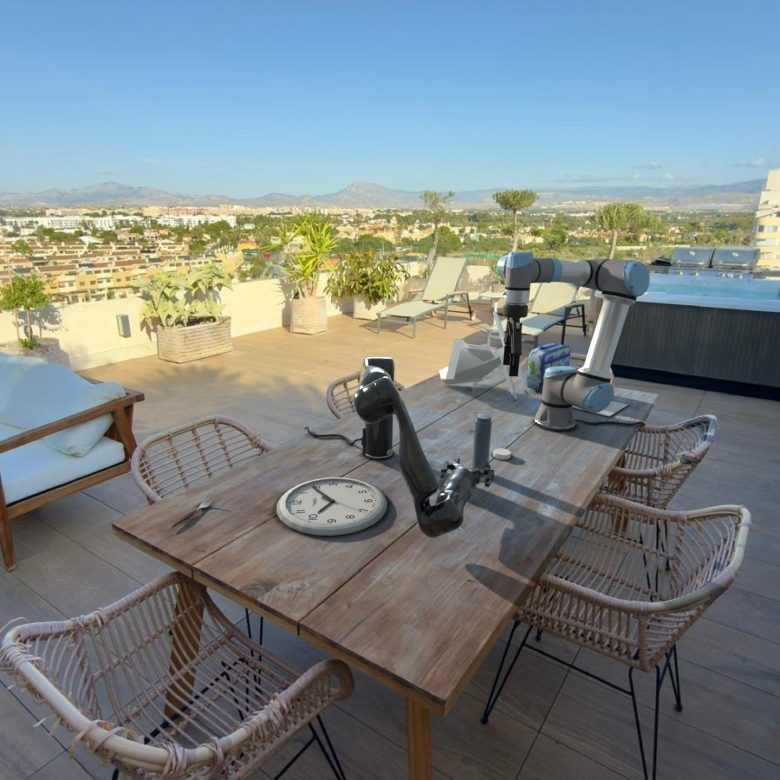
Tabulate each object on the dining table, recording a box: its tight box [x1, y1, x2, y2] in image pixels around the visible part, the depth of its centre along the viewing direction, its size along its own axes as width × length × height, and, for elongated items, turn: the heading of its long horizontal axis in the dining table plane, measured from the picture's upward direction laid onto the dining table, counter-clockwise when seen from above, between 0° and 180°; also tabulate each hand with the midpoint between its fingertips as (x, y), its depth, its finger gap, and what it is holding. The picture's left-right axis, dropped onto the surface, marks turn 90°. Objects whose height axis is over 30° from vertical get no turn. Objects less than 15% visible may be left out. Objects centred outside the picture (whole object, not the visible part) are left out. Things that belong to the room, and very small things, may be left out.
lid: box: [492, 447, 512, 461], centre depth 175 cm, size 6×6×2 cm
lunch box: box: [525, 343, 571, 393], centre depth 249 cm, size 26×11×21 cm, turn 134°
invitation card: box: [573, 400, 629, 418], centre depth 226 cm, size 21×1×15 cm
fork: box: [171, 493, 217, 529], centre depth 137 cm, size 3×16×2 cm, turn 160°
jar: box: [471, 413, 493, 474], centre depth 160 cm, size 5×5×19 cm
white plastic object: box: [438, 310, 531, 400], centre depth 245 cm, size 37×45×31 cm
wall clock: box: [276, 476, 388, 537], centre depth 142 cm, size 30×2×30 cm
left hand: (473, 462), depth 151 cm, fingers open, 8 cm apart
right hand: (510, 370), depth 167 cm, fingers open, 13 cm apart
